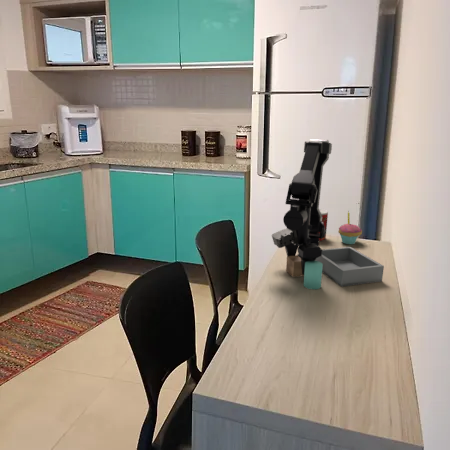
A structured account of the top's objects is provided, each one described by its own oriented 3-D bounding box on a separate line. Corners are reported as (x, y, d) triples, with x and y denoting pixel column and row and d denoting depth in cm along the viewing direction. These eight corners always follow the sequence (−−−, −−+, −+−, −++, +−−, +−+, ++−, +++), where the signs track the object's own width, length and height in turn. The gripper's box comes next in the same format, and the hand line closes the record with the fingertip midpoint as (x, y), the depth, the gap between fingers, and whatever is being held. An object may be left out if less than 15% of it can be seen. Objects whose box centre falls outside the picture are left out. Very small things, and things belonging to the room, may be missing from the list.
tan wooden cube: (286, 271, 141) (286, 256, 140) (300, 269, 143) (301, 254, 141) (293, 277, 137) (294, 262, 135) (307, 275, 138) (308, 260, 137)
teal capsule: (300, 283, 132) (302, 261, 130) (315, 281, 133) (317, 259, 131) (308, 290, 127) (310, 267, 125) (324, 288, 129) (325, 265, 127)
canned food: (325, 242, 169) (328, 214, 166) (304, 240, 171) (306, 212, 168) (325, 236, 177) (327, 209, 173) (305, 234, 178) (307, 207, 175)
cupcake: (332, 240, 171) (335, 210, 168) (350, 237, 175) (353, 208, 171) (347, 247, 164) (350, 215, 160) (365, 244, 167) (368, 213, 164)
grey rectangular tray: (311, 264, 146) (312, 250, 145) (348, 260, 151) (350, 246, 149) (341, 286, 130) (343, 270, 129) (382, 281, 134) (383, 265, 133)
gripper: (263, 215, 141) (261, 261, 145) (289, 232, 124) (286, 283, 128) (295, 212, 144) (292, 257, 149) (324, 229, 127) (320, 279, 132)
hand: (297, 268), depth 139 cm, fingers open, 9 cm apart
